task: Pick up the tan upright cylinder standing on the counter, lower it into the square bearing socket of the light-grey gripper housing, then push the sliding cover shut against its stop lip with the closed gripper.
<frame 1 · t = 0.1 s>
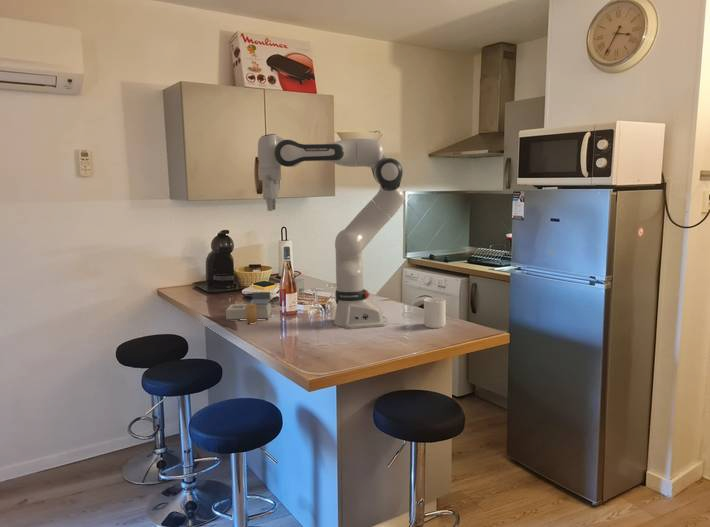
hand: (271, 210, 219), 48 cm above the countertop, fingers open, 8 cm apart
tan upright cylinder: (252, 323, 231), on the countertop
housing: (238, 317, 240), on the countertop
cover: (259, 298, 246), point 7 cm above the countertop, slide at 6.0 cm
mug: (436, 325, 220), on the countertop
ink box: (293, 303, 267), on the countertop
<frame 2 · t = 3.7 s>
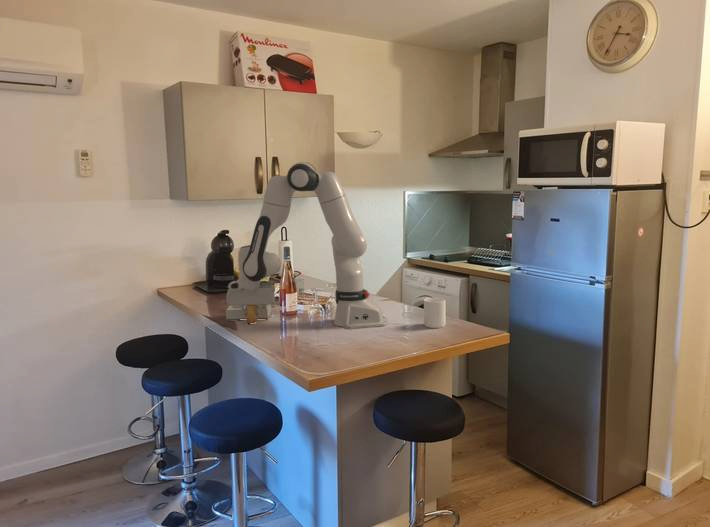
hand: (251, 315, 230), 4 cm above the countertop, fingers closed on tan upright cylinder, 4 cm apart
tan upright cylinder: (252, 323, 231), on the countertop, touching gripper
everything else where it was.
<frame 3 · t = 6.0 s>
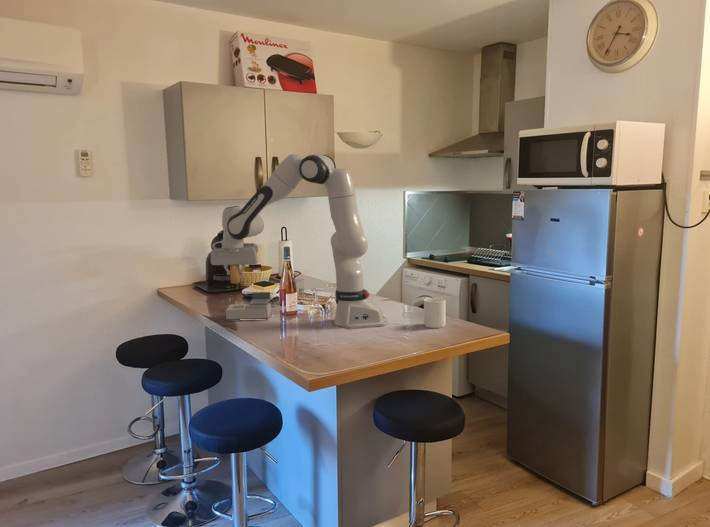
hand: (235, 274, 237), 19 cm above the countertop, fingers closed on tan upright cylinder, 4 cm apart
tan upright cylinder: (235, 282, 238), point 16 cm above the countertop, touching gripper
everything else where it was.
when the fingers open (6 cm above the countertop, at t = 8.1 s): tan upright cylinder drops 2 cm, resting on housing.
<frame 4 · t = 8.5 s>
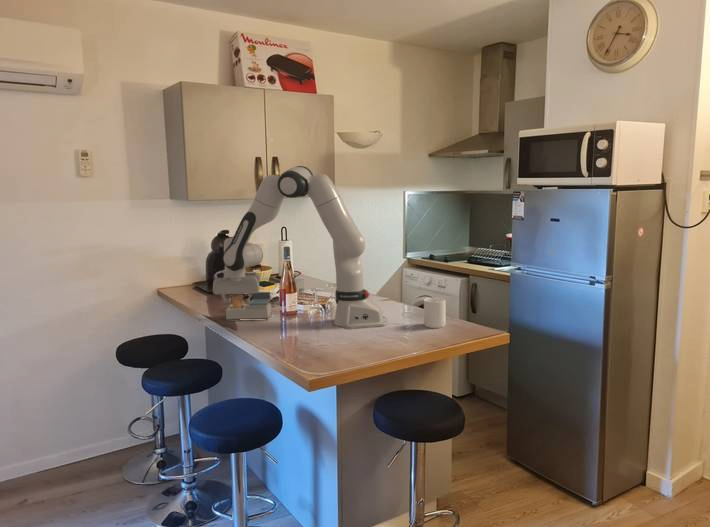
hand: (237, 303, 239), 6 cm above the countertop, fingers open, 8 cm apart
tan upright cylinder: (238, 315, 240), point 1 cm above the countertop, touching housing
everything else where it was.
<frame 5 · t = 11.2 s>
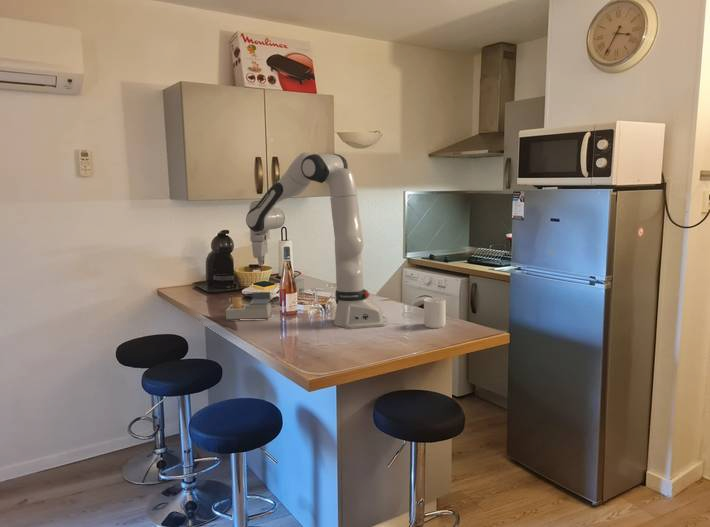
hand: (261, 265, 254), 21 cm above the countertop, fingers open, 3 cm apart
nothing on the countertop moved.
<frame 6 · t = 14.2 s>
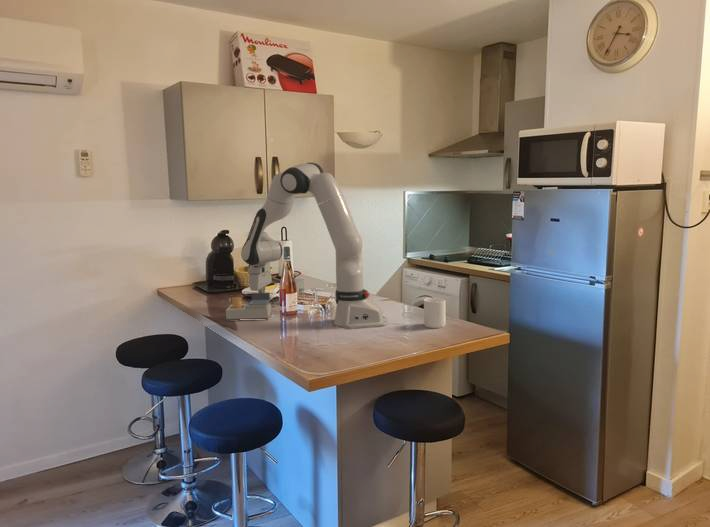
hand: (262, 296, 251), 7 cm above the countertop, fingers closed
cover: (259, 299, 244), point 7 cm above the countertop, slide at 4.6 cm, touching gripper
everything else where it was.
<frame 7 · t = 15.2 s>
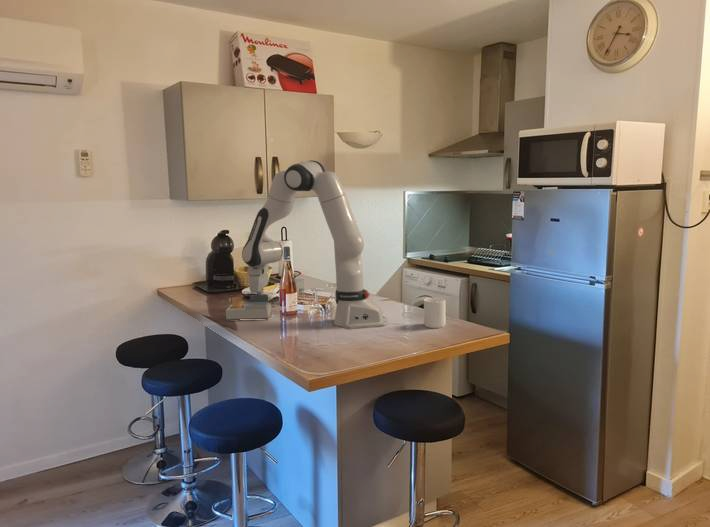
hand: (260, 298, 246), 7 cm above the countertop, fingers closed
cover: (257, 301, 240), point 7 cm above the countertop, slide at -0.1 cm, touching gripper
everything else where it was.
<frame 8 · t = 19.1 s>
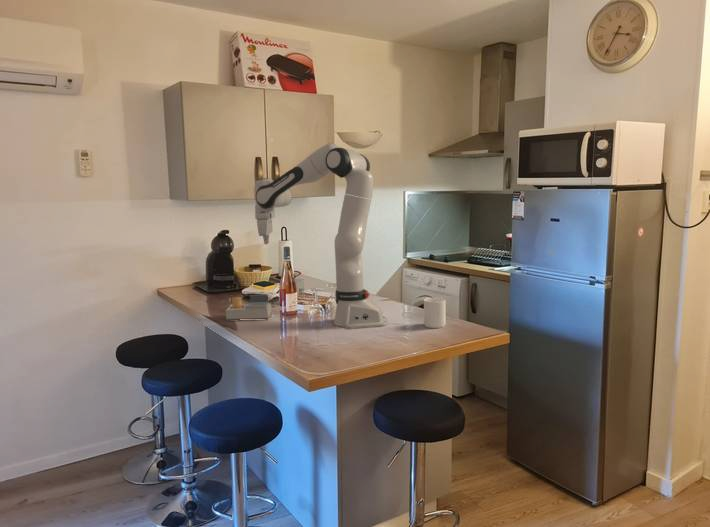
hand: (266, 243, 251), 31 cm above the countertop, fingers closed
cover: (257, 301, 240), point 7 cm above the countertop, slide at 0.0 cm
everything else where it was.
at the end: tan upright cylinder 0.1 cm off-centre on the housing, point 1.0 cm above the housing's base; tan upright cylinder tilted 0°; cover slide at 0.0 cm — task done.
